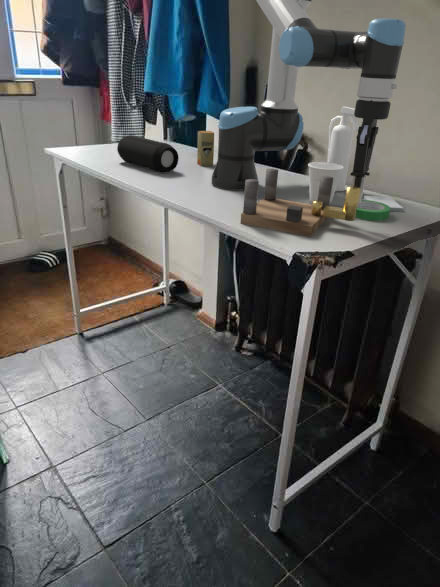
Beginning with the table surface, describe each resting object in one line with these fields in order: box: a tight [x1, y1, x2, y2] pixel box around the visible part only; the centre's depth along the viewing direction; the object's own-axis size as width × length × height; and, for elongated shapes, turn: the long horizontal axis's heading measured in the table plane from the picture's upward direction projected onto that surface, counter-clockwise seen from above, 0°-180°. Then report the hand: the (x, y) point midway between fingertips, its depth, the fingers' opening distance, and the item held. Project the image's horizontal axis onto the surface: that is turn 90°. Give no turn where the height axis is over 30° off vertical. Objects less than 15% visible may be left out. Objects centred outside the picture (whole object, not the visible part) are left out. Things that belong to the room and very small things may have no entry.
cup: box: [307, 161, 344, 206], centre depth 128 cm, size 10×10×11 cm
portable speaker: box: [116, 134, 179, 174], centre depth 161 cm, size 26×10×10 cm, turn 45°
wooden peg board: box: [240, 168, 333, 237], centre depth 113 cm, size 18×18×10 cm
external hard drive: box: [363, 195, 405, 212], centre depth 133 cm, size 2×8×12 cm
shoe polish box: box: [196, 130, 215, 167], centre depth 169 cm, size 5×5×12 cm
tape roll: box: [355, 199, 391, 222], centre depth 123 cm, size 11×11×3 cm
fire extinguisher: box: [326, 106, 360, 192], centre depth 141 cm, size 7×12×25 cm, turn 39°
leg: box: [311, 185, 361, 222], centre depth 109 cm, size 11×3×8 cm, turn 65°
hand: (354, 202), depth 111 cm, fingers closed
